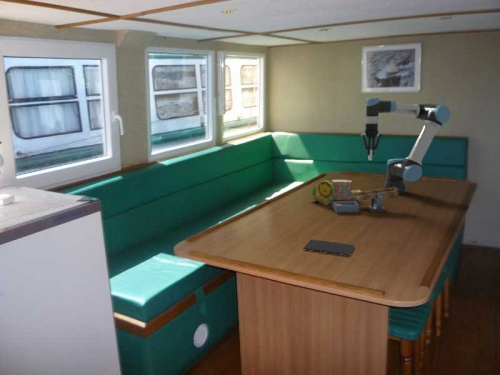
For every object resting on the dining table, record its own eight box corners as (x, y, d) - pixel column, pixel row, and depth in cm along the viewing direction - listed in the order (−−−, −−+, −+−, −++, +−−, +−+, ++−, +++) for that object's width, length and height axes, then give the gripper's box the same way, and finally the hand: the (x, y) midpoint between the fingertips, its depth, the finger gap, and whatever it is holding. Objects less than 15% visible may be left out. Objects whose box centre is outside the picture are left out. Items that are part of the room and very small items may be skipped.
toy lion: (309, 202, 294) (310, 179, 290) (314, 200, 298) (315, 177, 294) (330, 206, 283) (331, 182, 280) (335, 204, 287) (336, 181, 284)
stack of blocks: (318, 199, 299) (318, 181, 296) (317, 197, 305) (318, 179, 302) (351, 200, 298) (352, 181, 295) (350, 197, 304) (350, 179, 301)
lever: (389, 190, 287) (388, 183, 286) (399, 197, 270) (398, 189, 269) (351, 196, 286) (351, 189, 285) (359, 203, 270) (359, 195, 268)
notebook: (303, 251, 212) (348, 257, 204) (303, 247, 212) (348, 254, 203) (311, 242, 223) (354, 248, 215) (311, 239, 223) (354, 244, 214)
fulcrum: (379, 206, 280) (380, 189, 278) (386, 211, 270) (387, 193, 267) (367, 207, 280) (367, 189, 277) (373, 212, 269) (373, 194, 267)
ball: (341, 208, 275) (340, 202, 274) (342, 209, 272) (342, 204, 271) (335, 209, 275) (335, 203, 274) (337, 210, 272) (336, 205, 271)
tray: (354, 207, 279) (354, 200, 278) (359, 212, 269) (359, 205, 268) (332, 208, 278) (332, 201, 277) (336, 213, 268) (337, 205, 267)
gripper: (380, 122, 289) (378, 158, 294) (359, 122, 288) (358, 159, 293) (384, 123, 281) (382, 160, 287) (363, 123, 281) (361, 161, 286)
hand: (370, 160), depth 290 cm, fingers closed
